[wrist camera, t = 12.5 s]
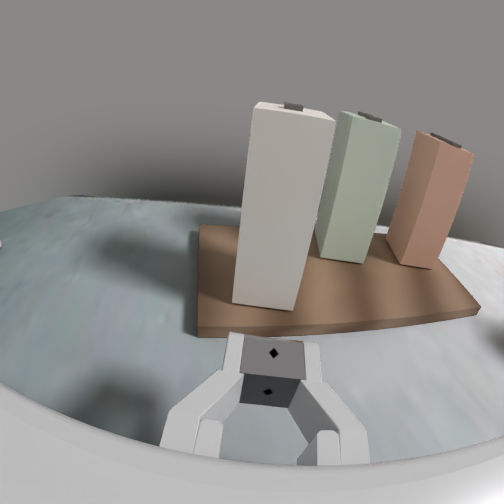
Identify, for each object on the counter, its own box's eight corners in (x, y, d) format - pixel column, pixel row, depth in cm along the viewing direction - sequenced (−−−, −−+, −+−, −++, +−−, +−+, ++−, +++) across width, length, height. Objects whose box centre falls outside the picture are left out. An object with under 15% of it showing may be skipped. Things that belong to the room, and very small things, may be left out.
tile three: (432, 269, 26) (475, 151, 20) (400, 264, 26) (441, 138, 20) (414, 242, 31) (447, 138, 24) (384, 236, 31) (416, 127, 24)
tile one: (293, 310, 20) (337, 115, 13) (231, 302, 20) (254, 101, 13) (291, 265, 24) (322, 106, 18) (240, 258, 24) (260, 97, 18)
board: (197, 337, 18) (197, 326, 18) (199, 233, 29) (199, 224, 29) (476, 314, 23) (481, 306, 22) (413, 243, 33) (416, 236, 33)
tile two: (363, 263, 26) (402, 126, 19) (320, 257, 26) (353, 112, 19) (351, 234, 30) (381, 116, 24) (314, 228, 30) (339, 106, 24)
